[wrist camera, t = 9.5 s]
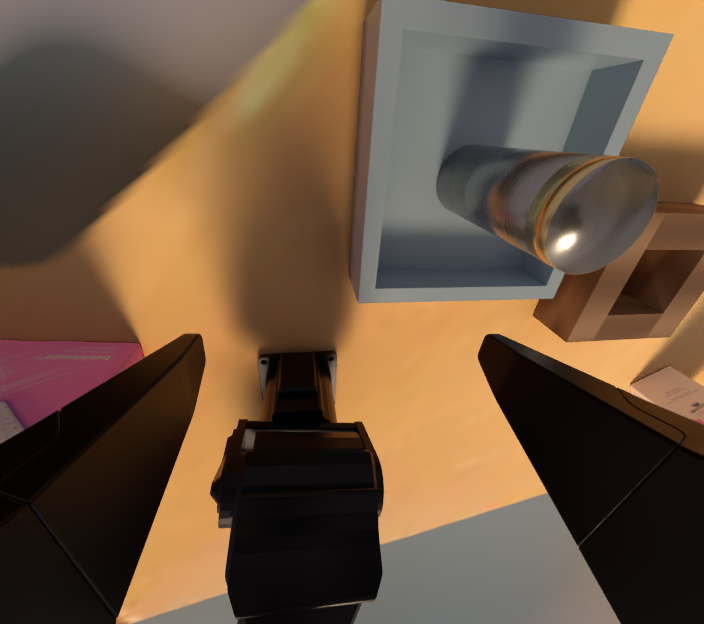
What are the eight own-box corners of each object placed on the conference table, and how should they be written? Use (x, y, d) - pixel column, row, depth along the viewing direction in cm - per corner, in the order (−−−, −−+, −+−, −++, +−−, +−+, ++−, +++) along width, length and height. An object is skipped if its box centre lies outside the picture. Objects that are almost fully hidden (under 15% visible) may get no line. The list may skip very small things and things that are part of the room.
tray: (518, 275, 24) (553, 298, 21) (349, 276, 22) (358, 303, 19) (600, 53, 17) (673, 34, 14) (363, 22, 15) (382, -8, 12)
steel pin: (486, 214, 20) (620, 274, 12) (430, 212, 20) (529, 275, 11) (505, 146, 18) (683, 160, 10) (443, 142, 18) (577, 153, 9)
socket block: (626, 312, 29) (669, 337, 25) (532, 315, 27) (566, 342, 24) (693, 203, 23) (759, 215, 20) (582, 199, 22) (634, 212, 19)
